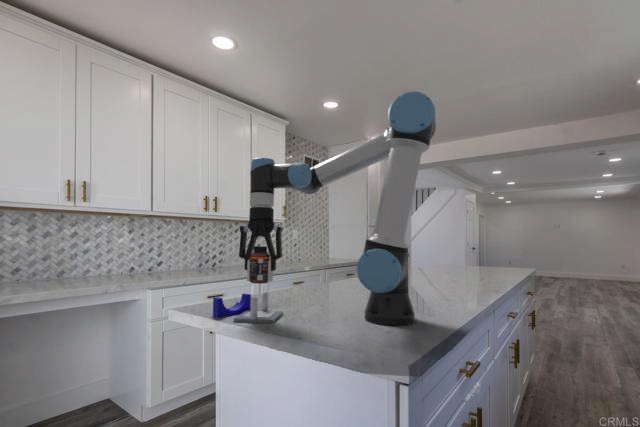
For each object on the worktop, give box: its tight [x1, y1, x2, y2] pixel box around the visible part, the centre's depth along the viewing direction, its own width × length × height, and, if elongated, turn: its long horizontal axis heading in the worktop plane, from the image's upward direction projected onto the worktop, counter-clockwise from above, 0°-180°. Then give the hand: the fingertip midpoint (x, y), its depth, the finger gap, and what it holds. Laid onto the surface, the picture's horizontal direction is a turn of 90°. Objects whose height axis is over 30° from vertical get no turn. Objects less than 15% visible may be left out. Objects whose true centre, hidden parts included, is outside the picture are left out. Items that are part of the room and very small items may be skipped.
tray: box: [233, 291, 284, 324], centre depth 107 cm, size 12×13×7 cm
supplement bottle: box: [249, 245, 271, 284], centre depth 107 cm, size 6×6×11 cm
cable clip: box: [212, 292, 252, 319], centre depth 112 cm, size 12×4×6 cm, turn 135°
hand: (259, 280), depth 107 cm, fingers closed on supplement bottle, 6 cm apart
